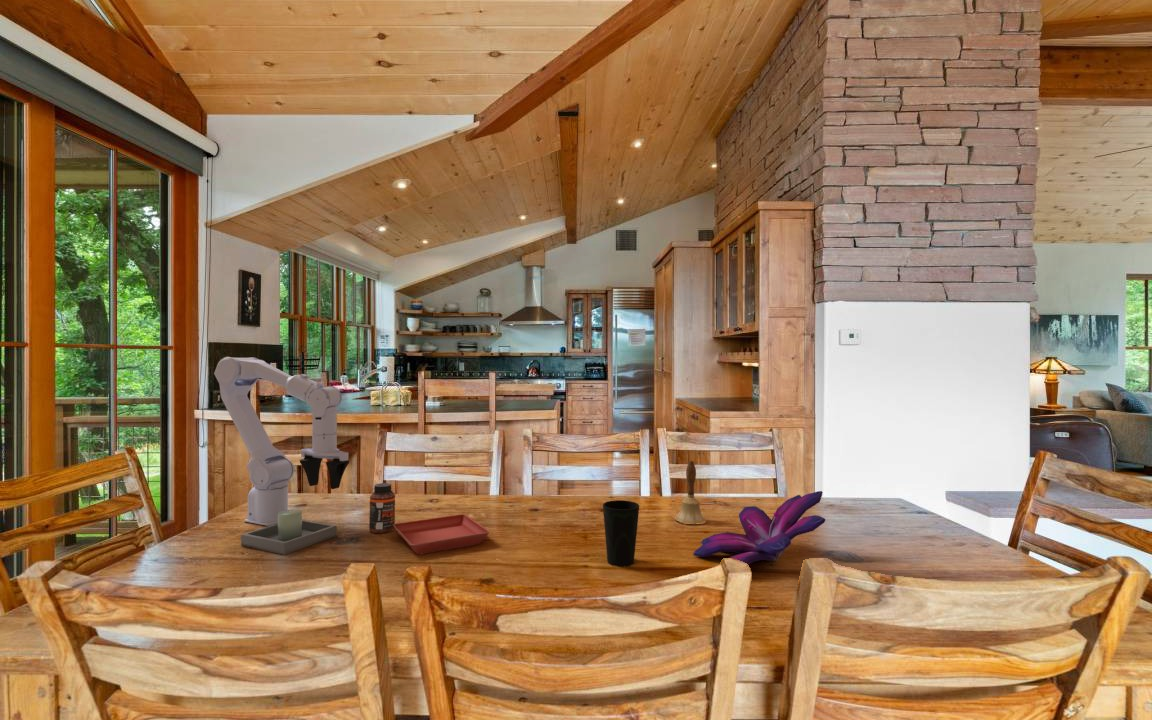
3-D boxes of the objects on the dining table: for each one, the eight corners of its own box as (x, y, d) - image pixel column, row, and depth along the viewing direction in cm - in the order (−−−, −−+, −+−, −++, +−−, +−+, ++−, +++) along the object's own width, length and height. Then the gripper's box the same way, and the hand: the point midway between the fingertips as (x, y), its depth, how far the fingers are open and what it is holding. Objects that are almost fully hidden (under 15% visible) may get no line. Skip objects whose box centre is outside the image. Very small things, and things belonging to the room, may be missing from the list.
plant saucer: (392, 536, 132) (392, 523, 132) (464, 525, 141) (464, 512, 141) (411, 560, 116) (411, 545, 116) (490, 546, 125) (490, 531, 125)
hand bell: (713, 522, 144) (713, 461, 144) (690, 527, 140) (691, 464, 140) (689, 514, 151) (690, 457, 151) (667, 519, 146) (668, 459, 146)
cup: (600, 555, 119) (600, 500, 119) (635, 554, 119) (635, 499, 119) (605, 569, 111) (605, 510, 111) (642, 568, 112) (642, 509, 112)
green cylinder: (272, 540, 126) (272, 514, 126) (292, 533, 130) (292, 508, 130) (287, 543, 124) (287, 516, 124) (307, 536, 128) (306, 511, 128)
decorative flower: (726, 620, 101) (703, 569, 102) (698, 569, 131) (680, 530, 132) (879, 551, 100) (853, 500, 101) (815, 516, 131) (796, 478, 132)
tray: (241, 545, 123) (241, 534, 123) (295, 528, 136) (295, 518, 136) (284, 554, 118) (284, 543, 118) (336, 536, 131) (336, 525, 131)
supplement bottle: (384, 535, 131) (384, 488, 131) (363, 532, 133) (364, 486, 133) (399, 528, 137) (400, 483, 137) (380, 525, 139) (380, 481, 139)
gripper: (357, 433, 141) (357, 486, 141) (317, 430, 147) (316, 480, 147) (335, 437, 135) (335, 492, 135) (294, 433, 141) (293, 486, 141)
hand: (324, 486), depth 140 cm, fingers open, 7 cm apart
